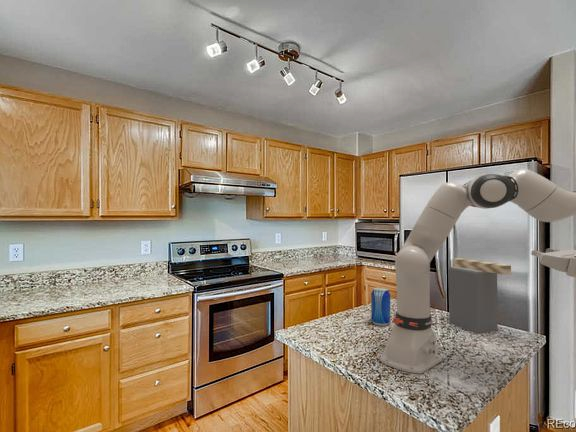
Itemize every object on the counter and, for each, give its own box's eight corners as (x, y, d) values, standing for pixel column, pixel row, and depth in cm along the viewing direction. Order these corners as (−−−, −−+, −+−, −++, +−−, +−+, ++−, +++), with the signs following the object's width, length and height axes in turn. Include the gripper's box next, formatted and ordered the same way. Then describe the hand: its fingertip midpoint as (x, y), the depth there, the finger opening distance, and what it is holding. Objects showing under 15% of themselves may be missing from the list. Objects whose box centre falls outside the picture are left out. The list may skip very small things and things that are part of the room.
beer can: (374, 319, 146) (374, 286, 146) (392, 322, 142) (392, 288, 142) (369, 324, 139) (369, 289, 139) (388, 328, 135) (387, 291, 135)
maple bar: (511, 274, 123) (511, 265, 123) (504, 274, 121) (504, 265, 121) (459, 265, 145) (459, 258, 145) (452, 265, 144) (452, 258, 144)
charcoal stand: (497, 330, 132) (497, 270, 132) (477, 333, 128) (477, 271, 128) (468, 320, 145) (468, 265, 145) (449, 323, 141) (449, 266, 141)
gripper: (605, 253, 104) (557, 241, 116) (574, 258, 95) (526, 244, 107) (599, 270, 105) (552, 256, 117) (569, 277, 97) (521, 261, 109)
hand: (539, 251), depth 112 cm, fingers open, 8 cm apart
